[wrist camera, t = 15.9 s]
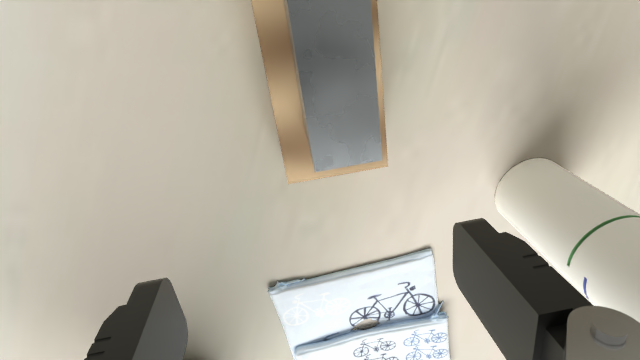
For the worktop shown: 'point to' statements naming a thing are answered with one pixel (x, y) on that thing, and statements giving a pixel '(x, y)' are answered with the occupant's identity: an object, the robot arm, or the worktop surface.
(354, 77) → the aluminium block
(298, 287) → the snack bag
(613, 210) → the cylindrical container
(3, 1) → the worktop surface
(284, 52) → the oak ledge
